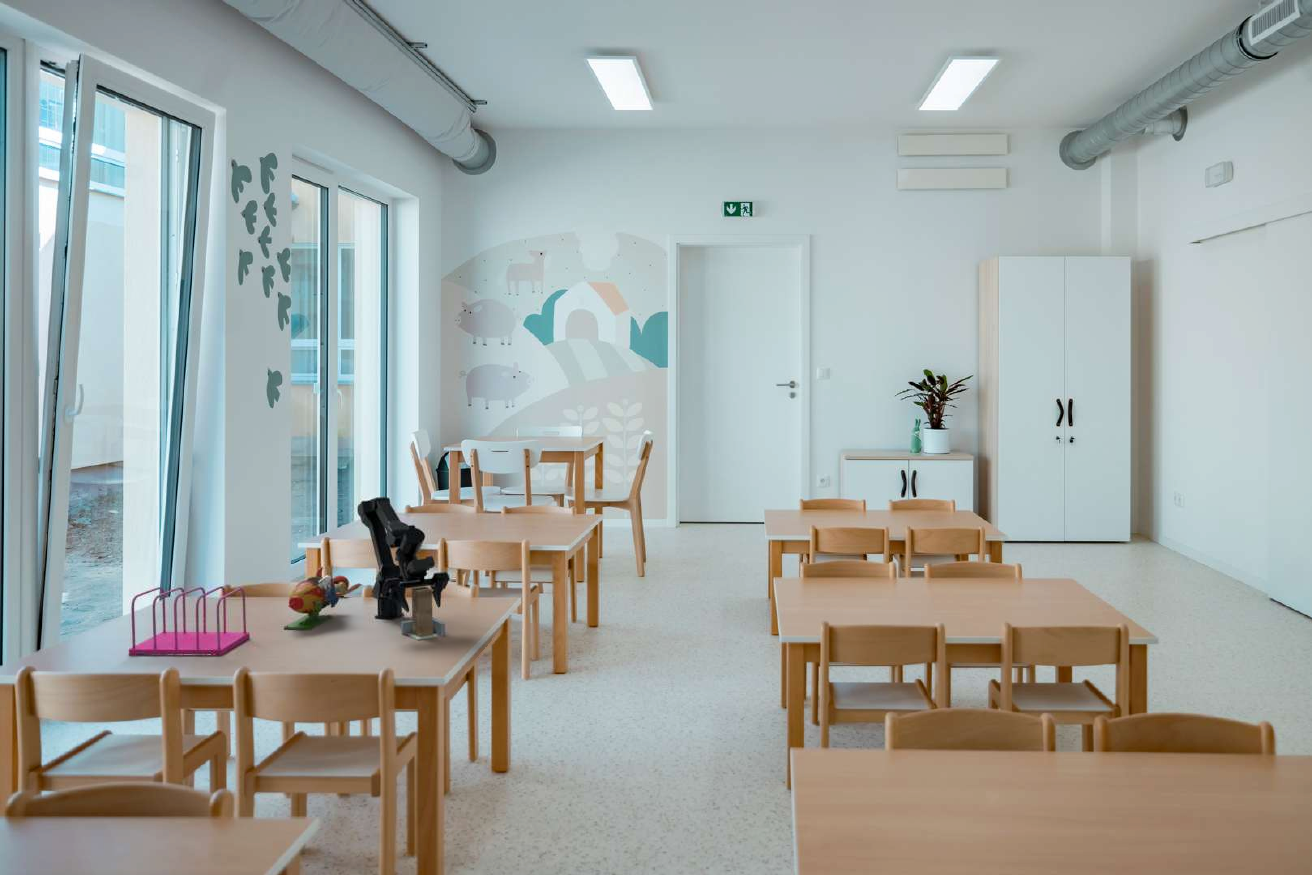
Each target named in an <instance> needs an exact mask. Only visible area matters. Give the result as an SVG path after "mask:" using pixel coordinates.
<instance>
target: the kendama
mask: <svg viewBox="0 0 1312 875" xmlns="http://www.w3.org/2000/svg"><path fill="white" fill-rule="evenodd" d="M332 578H333V580H334V582H333V583H334V584H335V587H338V588H339V589H340V593H342V595H339V596H338V597H343V596H344V595H345V593H346V591H348V589H349V587H350V582H349V578H347V577H346V576H345V575H337V576H335V577H332Z"/></svg>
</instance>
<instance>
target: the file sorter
mask: <svg viewBox="0 0 1312 875" xmlns="http://www.w3.org/2000/svg"><path fill="white" fill-rule="evenodd" d="M158 590H160V592H161V593H160V594H158V595H156V596H155V597H154V599H153V602H152V629H153V630H152V632H153V635H152V636H151V637H150V638H148V639H145V640H144V641H142V642H139V643H138V644H136V626H135V625H136V622H135V621H136V620H135V603H136V600H137V598H140V597H141V596H144V595H147V594H149V593H152V592H155V591H158ZM179 590H180V591H181V593H179V594H177V595H176V597H175V600H174V601H173V602H174V603H173V617H174V618H173V622H174V628H173V629H174V631H166V630H167V629H166V628H167V625H166V622H167V620H166V599H165V598H166V596H167V595H168V594H171V593H174V592H176V591H179ZM198 590H201V592H202V594H201V595H199V596H198V598H197V600H196V604H195V631H187V627H186V626H187V623H186V621H187V620H186V619H187V618H186V616H187V615H186V595H187V594H190V593H192V592H196V591H198ZM218 590H222V596H220V598H218V601H217V603H216V631H207V614H206V613H207V606H206V605H207V600H206V598H207V596H208V595H210V594H212V593H215V592H217V591H218ZM239 591H241V596H242V616H243V617H242V618H243V619H242V620H243V621H242V622H243V623H242V624H243V631H227V616H226V615H227V607H226V606H227V604H226V603H227V602H226V601H227V600H226V599H227V597H230V596H231V595H233V594H235V593H237V592H239ZM160 597H161V598H162V600H161V601H162V632H159V633H158V634H157V630H156V629H157V624H156V622H157V621H156V604H157V600H158V599H159V598H160ZM180 597H182V624H183V631H178V611H177V610H178V609H177V606H178V604H177V603H178V600H179V598H180ZM201 599H202V602H203V603H202V604H203V605H202V606H203V607H202V608H203V610H202V612H203V613H202V614H203V631H199V630H200V628H199V626H200V624H199V622H200V620H199V619H200V617H199V611H200V610H199V606H200V605H199V604H200V601H201ZM222 600H223V601H222ZM221 602H223V603H222V604H223V605H222V606H223V612H222V614H223V617H222V618H223V626H222V627H223V628H222V629H223V631H221V630H220V628H221V627H220V626H221V625H220V606H221ZM130 607H131V631H132V632H131V637H132V642H131V643H132V647H130V648H128V655H129V656H138V655H137V654H183V655H182V656H185V655H184V654H205V655H204V656H207V655H206V654H211V655H210V656H222V655H221V654H223V655H224V654H226V653H227V652H229V651H230V650H232V649H234V648H235V647H237V646H238V645H241V644H242V643H243V642H245V641H247V640H248V639H250V631H247V622H246V621H247V620H246V619H247V618H246V617H247V616H246V612H247V611H246V593H245V590H244V588H243V587H238V588H236V589H234V590H233V591H231V592H228V593H227V594H226V589H225V587H224V586H221V585H220V586H217V587H215V588H214V589H211V590H209V591H207V592H206V590H205V588H204V587H202V586H199V587H196V588H192V589H190V590H187V591H185V590H184V588H183V587H180V586H179V587H176V588H173V589H171V590H168V591H165V590H164V588H163V587H160V586H158V587H155V588H153V589H150V590H145V591H143V592H141V593H139V594H136V595H134V596H133V598H132V601H131V606H130ZM228 650H229V651H228ZM214 654H215V655H214Z"/></svg>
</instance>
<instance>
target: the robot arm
mask: <svg viewBox="0 0 1312 875" xmlns="http://www.w3.org/2000/svg"><path fill="white" fill-rule="evenodd" d="M356 509H357V515H358V516H359V517H360V520H361V523H362V524H363V525H364V526H365V527H366V528H368V530H369V534H370V538H371V543H372V547H373V552H374V554H375V559H376V563H377V565H378V566H377V567H378V572H377V575H376V577H375V583H374V585H373V588H372V597H373V598H374V599H377V614H376V615H374V618H375V619H387V620H394V619H397V618H399V617H401V616H404V615H405V613H404V612H403V610H404V611H405V612H407V613H409V612H410V608H409V607H410V606H409V604H408V601H407V598H406V591H407V589H412V588H420V587H429V586H430V589H432V598H433V599H434V602H435V604H436V607H437V608H441V604H442V603H441V602H442V592H443V591H444V590H445V589H446V588H447V585H448V583H449V581H450V579H451V578H450V575H449V573H448V572H446V571H441V572H434V573H433V575H432V577H430V578H425V577H427V575H428V572H427V571H429V570H430V569H432V568H434V567H435V566H436V564H435V559H434V557H433V556H432V555H430V556H426V557H425V558H418V555H417V554H418V553H420V551H421V548H422V546H423V543H424V541H425V538H426V535H425V532H424V531H423V530H422V529H420V528H418V527H416V526H415V524H413V525H412V524H411V525H409V524H407V523H405V522H403V521H401V520H400V518H399V516H398V514H397V512H396V510H395V509H394V508H393V506H392V504H391V499H390V497H387V496H382V497H381V496H379V497H374V498H371V499H370V500H362V501H361V502H360V503H359V504H357V508H356ZM396 548H397V549H396ZM391 549H396V550H395V553H394V555H395V557H394V558H393V554H392V550H391ZM394 561H395V562H397V563H398V565H397V564H396V563H395V562H394Z"/></svg>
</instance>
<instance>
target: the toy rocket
mask: <svg viewBox="0 0 1312 875" xmlns="http://www.w3.org/2000/svg"><path fill="white" fill-rule="evenodd" d="M323 569H324V568H323V566H320V567H319V568H318V569H317V571H316V574H315V576H311V577H308V578H307V579H306V580H304V581H303V580H302V581H300V582H299V583H298V584H297V585H295V588H294V589H293V590H292V592H290V595H289V598H288V608H290V609H291V610H292V611H294V612H296V613H298V614H303V615H304V616H302V617H300V618H299V619H296V620H294V621H293V622H291V623H288V624H287V625H285V626H283V630H291V631H292V630H294V631H295V630H296V631H298V630H299V631H311V630H313V629H314V628H316V627H318V626H320V625H322V624H323V623H326V622H327V621H329V620H330V619H333V615H331V614H328V615H327V614H326V615H325V614H321V615H320V612H322V610H323V609H325V608H326V607H329V606H330V609H333V608H335V607H336V605H337V604H338V602H339V600H340V598H339V597H340V596H339V595H342V593H340V589H339V588H338V587H335V584H334V583H333V582H334V580H333V578H334V577H332V576H330V575H324V577H323ZM305 614H306V615H305Z"/></svg>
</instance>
